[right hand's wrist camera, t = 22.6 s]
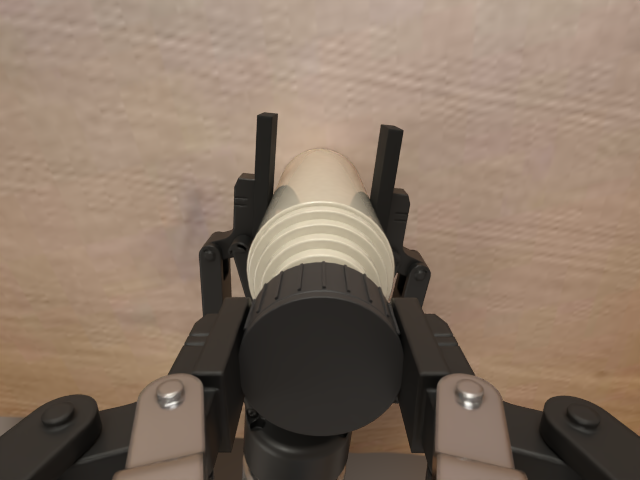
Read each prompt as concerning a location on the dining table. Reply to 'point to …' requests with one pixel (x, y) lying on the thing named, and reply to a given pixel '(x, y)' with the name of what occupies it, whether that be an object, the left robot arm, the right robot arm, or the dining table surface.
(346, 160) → the bottle
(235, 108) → the dining table surface
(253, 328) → the cap
